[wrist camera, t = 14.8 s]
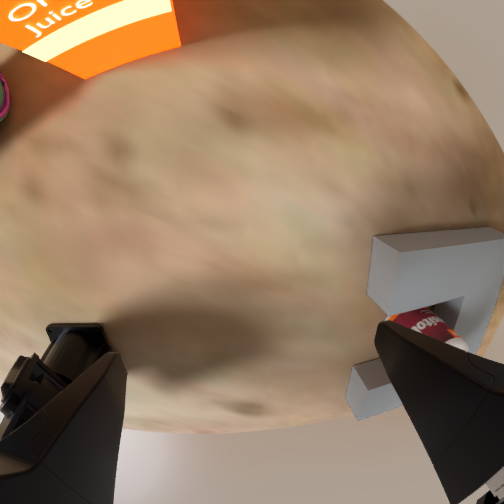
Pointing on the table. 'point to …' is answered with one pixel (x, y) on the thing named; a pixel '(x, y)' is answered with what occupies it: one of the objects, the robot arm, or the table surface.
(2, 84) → the pencil case
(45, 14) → the orange juice
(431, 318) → the pill bottle
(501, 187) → the table surface
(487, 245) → the notched board
